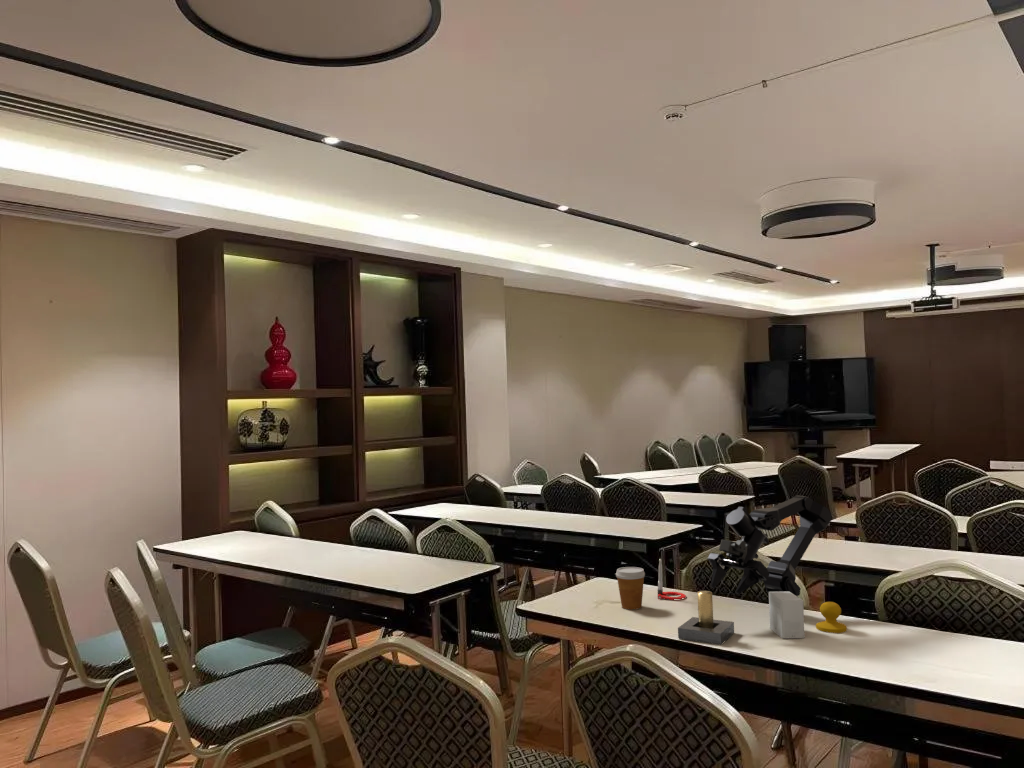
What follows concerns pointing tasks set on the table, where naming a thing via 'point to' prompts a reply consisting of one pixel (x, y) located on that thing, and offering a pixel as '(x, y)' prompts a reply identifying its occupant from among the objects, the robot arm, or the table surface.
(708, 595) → the brass pin
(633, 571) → the disposable coffee cup
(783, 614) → the skincare box
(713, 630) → the block
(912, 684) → the table surface
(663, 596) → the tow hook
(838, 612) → the doorknob
